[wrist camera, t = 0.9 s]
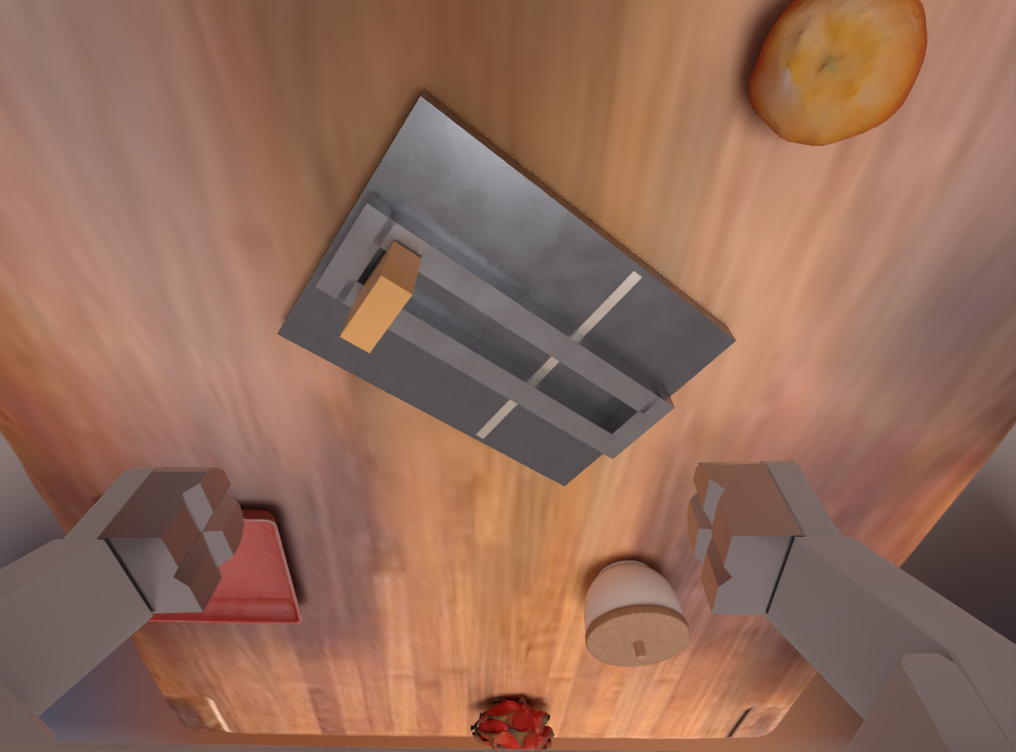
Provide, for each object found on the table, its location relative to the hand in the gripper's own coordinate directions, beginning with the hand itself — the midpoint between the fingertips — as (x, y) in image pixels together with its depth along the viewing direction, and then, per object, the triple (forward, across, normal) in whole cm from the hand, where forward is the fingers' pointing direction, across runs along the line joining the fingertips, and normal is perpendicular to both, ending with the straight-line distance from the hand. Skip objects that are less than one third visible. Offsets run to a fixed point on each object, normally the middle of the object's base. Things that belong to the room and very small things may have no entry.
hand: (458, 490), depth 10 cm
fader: (+29, +8, +7) cm, 31 cm away
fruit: (+32, -18, -4) cm, 36 cm away
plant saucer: (+32, +34, +40) cm, 62 cm away
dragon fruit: (+36, +3, +79) cm, 87 cm away
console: (+32, +1, +13) cm, 34 cm away
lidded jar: (+34, -11, +48) cm, 60 cm away
